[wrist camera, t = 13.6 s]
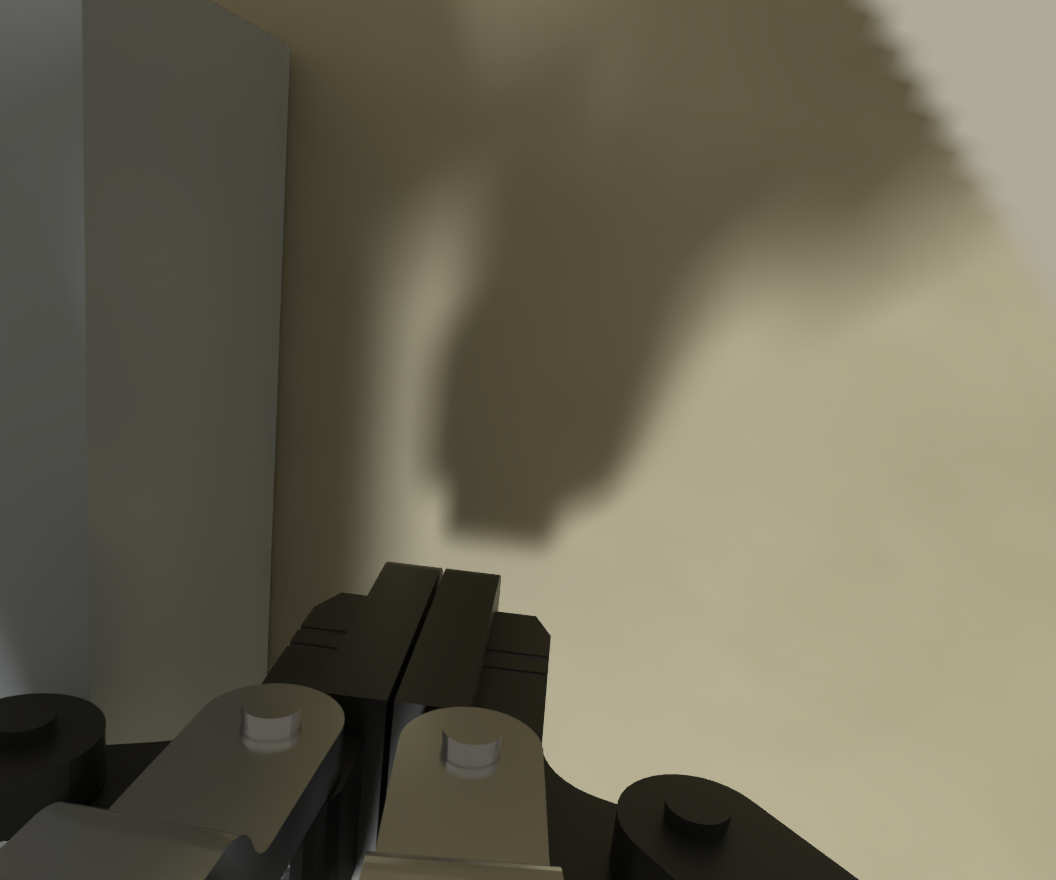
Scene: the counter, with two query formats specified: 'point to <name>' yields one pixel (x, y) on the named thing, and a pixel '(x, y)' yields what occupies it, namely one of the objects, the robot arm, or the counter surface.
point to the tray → (138, 353)
